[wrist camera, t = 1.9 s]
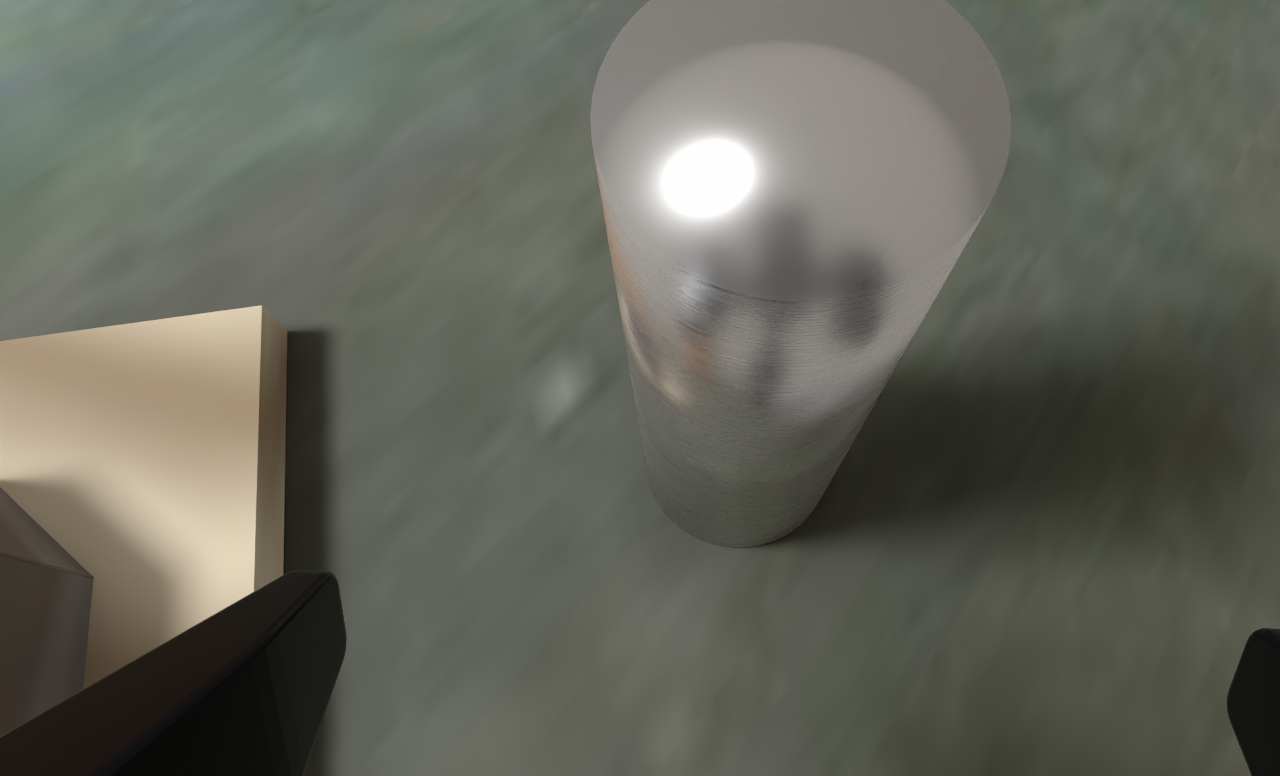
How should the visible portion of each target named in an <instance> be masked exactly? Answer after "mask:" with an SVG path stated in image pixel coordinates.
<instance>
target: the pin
mask: <svg viewBox="0 0 1280 776" xmlns="http://www.w3.org/2000/svg"><path fill="white" fill-rule="evenodd" d="M590 117H591V137H592V144H593V150H594V156H595V162H596V168H597V174H598V180H599V186H600V192H601V198H602V204H603V210H604V216H605V222H606V228H607V234H608V241H609V247H610V253H611V259H612V265H613V271H614V277H615V283H616V289H617V295H618V301H619V307H620V313H621V319H622V325H623V331H624V337H625V343H626V350H627V356H628V362H629V368H630V374H631V380H632V386H633V392H634V398H635V404H636V410H637V416H638V422H639V428H640V434H641V440H642V446H643V452H644V459H645V465H646V470H647V475H648V480H649V483H650V486H651V489H652V492H653V494H654V496H655V498H656V499H657V501H658V503H659V505H660V506H661V507H662V509H663V510H664V512H665V513H666V514H667V515H668V516H669V517H670V518H671V520H672V521H673V522H675V523H676V524H677V525H678V526H679V527H680V528H682V529H683V530H685V531H686V532H688V533H689V534H691V535H692V536H694V537H697V538H699V539H701V540H703V541H705V542H709V543H712V544H715V545H719V546H725V547H735V548H744V547H755V546H759V545H764V544H767V543H770V542H773V541H776V540H778V539H780V538H782V537H784V536H786V535H788V534H789V533H791V532H792V531H793V530H795V529H796V528H798V527H799V526H800V525H801V524H802V523H803V522H804V521H805V520H806V519H807V518H808V517H809V516H810V514H811V513H812V512H813V511H814V509H815V507H816V506H817V504H818V503H819V501H820V499H821V497H822V496H823V494H824V492H825V490H826V489H827V487H828V485H829V483H830V482H831V480H832V478H833V476H834V475H835V473H836V471H837V469H838V468H839V466H840V464H841V462H842V461H843V459H844V457H845V455H846V454H847V452H848V450H849V448H850V447H851V445H852V443H853V441H854V440H855V438H856V436H857V434H858V433H859V431H860V429H861V428H862V426H863V424H864V422H865V421H866V419H867V417H868V415H869V414H870V412H871V410H872V408H873V407H874V405H875V403H876V401H877V400H878V398H879V396H880V394H881V393H882V391H883V389H884V387H885V386H886V384H887V382H888V380H889V379H890V377H891V375H892V373H893V372H894V370H895V368H896V366H897V365H898V363H899V361H900V359H901V358H902V356H903V354H904V352H905V351H906V349H907V347H908V345H909V344H910V342H911V340H912V338H913V337H914V335H915V333H916V331H917V330H918V328H919V326H920V324H921V323H922V321H923V319H924V317H925V316H926V314H927V312H928V310H929V309H930V307H931V305H932V303H933V302H934V300H935V298H936V296H937V295H938V293H939V291H940V289H941V288H942V286H943V284H944V282H945V281H946V279H947V277H948V275H949V274H950V272H951V270H952V268H953V267H954V265H955V263H956V261H957V260H958V258H959V256H960V254H961V253H962V251H963V249H964V247H965V246H966V244H967V242H968V240H969V239H970V237H971V235H972V233H973V232H974V230H975V228H976V226H977V225H978V223H979V221H980V219H981V218H982V216H983V214H984V212H985V211H986V209H987V207H988V205H989V204H990V202H991V200H992V198H993V197H994V195H995V193H996V190H997V188H998V186H999V183H1000V181H1001V179H1002V176H1003V174H1004V171H1005V167H1006V162H1007V158H1008V154H1009V150H1010V138H1011V117H1010V106H1009V100H1008V96H1007V92H1006V88H1005V84H1004V81H1003V78H1002V76H1001V74H1000V71H999V69H998V67H997V64H996V62H995V60H994V58H993V56H992V55H991V53H990V51H989V50H988V48H987V46H986V45H985V43H984V41H983V40H982V38H981V37H980V36H979V35H978V34H977V32H976V31H975V30H974V29H973V27H972V26H971V25H970V24H969V22H968V21H967V20H966V19H965V18H964V17H963V16H962V15H961V14H959V13H958V12H957V11H956V10H955V9H954V8H953V7H952V6H951V5H950V4H949V3H947V2H946V1H945V0H650V1H649V2H648V3H647V4H645V5H644V6H643V7H642V8H641V9H640V10H639V11H638V12H637V13H636V14H635V15H634V16H633V17H632V18H631V19H630V20H629V22H628V23H627V24H626V25H625V26H624V28H623V29H622V30H621V31H620V32H619V34H618V36H617V37H616V39H615V40H614V42H613V44H612V45H611V47H610V48H609V50H608V52H607V54H606V56H605V58H604V61H603V63H602V65H601V68H600V70H599V72H598V76H597V80H596V83H595V87H594V91H593V96H592V106H591V115H590Z"/></svg>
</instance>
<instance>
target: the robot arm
mask: <svg viewBox="0 0 1280 776" xmlns="http://www.w3.org/2000/svg"><path fill="white" fill-rule="evenodd" d="M345 651H346V629H345V623H344V617H343V610H342V604H341V598H340V591H339V585H338V582H337V579H336V577H335V575H333V574H332V573H331V572H329V571H320V570H304V569H296V570H292V571H290V572H288V573H286V574H284V575H282V576H281V577H279V578H277V579H275V580H273V581H272V582H270V583H268V584H266V585H265V586H263V587H261V588H259V589H258V590H256V591H254V592H252V593H251V594H249V595H247V596H245V597H244V598H242V599H240V600H238V601H237V602H235V603H233V604H231V605H230V606H228V607H226V608H224V609H223V610H221V611H219V612H217V613H216V614H214V615H212V616H210V617H209V618H207V619H205V620H203V621H202V622H200V623H198V624H196V625H195V626H193V627H191V628H189V629H188V630H186V631H184V632H182V633H181V634H179V635H177V636H175V637H174V638H172V639H170V640H168V641H167V642H165V643H163V644H161V645H160V646H158V647H156V648H154V649H153V650H151V651H149V652H147V653H146V654H144V655H142V656H140V657H139V658H137V659H135V660H133V661H132V662H130V663H128V664H126V665H125V666H123V667H121V668H119V669H118V670H116V671H114V672H112V673H111V674H109V675H107V676H105V677H104V678H102V679H100V680H98V681H97V682H95V683H93V684H91V685H90V686H88V687H86V688H84V689H83V690H81V691H79V692H77V693H76V694H74V695H72V696H70V697H69V698H67V699H65V700H63V701H62V702H60V703H58V704H56V705H55V706H53V707H51V708H49V709H47V710H46V711H44V712H42V713H40V714H39V715H37V716H35V717H33V718H32V719H30V720H28V721H26V722H25V723H23V724H21V725H19V726H18V727H16V728H14V729H12V730H11V731H9V732H7V733H5V734H4V735H2V736H0V776H303V775H304V772H305V769H306V766H307V763H308V760H309V758H310V755H311V752H312V749H313V746H314V743H315V740H316V737H317V734H318V732H319V729H320V726H321V723H322V720H323V717H324V714H325V711H326V709H327V706H328V703H329V700H330V697H331V694H332V691H333V688H334V685H335V683H336V680H337V677H338V674H339V671H340V668H341V665H342V662H343V659H344V655H345ZM1227 710H1228V715H1229V719H1230V722H1231V725H1232V727H1233V730H1234V732H1235V735H1236V737H1237V740H1238V742H1239V745H1240V747H1241V750H1242V752H1243V755H1244V757H1245V760H1246V762H1247V765H1248V768H1249V770H1250V773H1251V775H1252V776H1280V629H1269V628H1263V629H1259V630H1256V631H1255V632H1253V633H1252V634H1251V635H1250V636H1249V638H1248V640H1247V643H1246V645H1245V648H1244V651H1243V653H1242V656H1241V659H1240V662H1239V664H1238V667H1237V670H1236V672H1235V675H1234V678H1233V681H1232V683H1231V686H1230V689H1229V692H1228V697H1227Z"/></svg>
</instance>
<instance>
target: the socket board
mask: <svg viewBox="0 0 1280 776" xmlns="http://www.w3.org/2000/svg"><path fill="white" fill-rule="evenodd" d="M286 383H287V330H286V329H285V328H284V327H283V326H282V325H281V324H280V323H279V322H278V321H277V320H276V319H275V318H274V317H273V316H272V315H271V314H270V313H269V312H268V311H267V310H266V309H265V308H264V307H263V306H262V305H261V306H254V307H247V308H239V309H232V310H225V311H218V312H210V313H203V314H196V315H188V316H181V317H174V318H166V319H159V320H152V321H144V322H137V323H130V324H123V325H115V326H108V327H101V328H93V329H86V330H79V331H71V332H64V333H57V334H50V335H42V336H35V337H28V338H20V339H13V340H6V341H0V736H2V735H4V734H5V733H7V732H9V731H11V730H12V729H14V728H16V727H18V726H19V725H21V724H23V723H25V722H26V721H28V720H30V719H32V718H33V717H35V716H37V715H39V714H40V713H42V712H44V711H46V710H47V709H49V708H51V707H53V706H55V705H56V704H58V703H60V702H62V701H63V700H65V699H67V698H69V697H70V696H72V695H74V694H76V693H77V692H79V691H81V690H83V689H84V688H86V687H88V686H90V685H91V684H93V683H95V682H97V681H98V680H100V679H102V678H104V677H105V676H107V675H109V674H111V673H112V672H114V671H116V670H118V669H119V668H121V667H123V666H125V665H126V664H128V663H130V662H132V661H133V660H135V659H137V658H139V657H140V656H142V655H144V654H146V653H147V652H149V651H151V650H153V649H154V648H156V647H158V646H160V645H161V644H163V643H165V642H167V641H168V640H170V639H172V638H174V637H175V636H177V635H179V634H181V633H182V632H184V631H186V630H188V629H189V628H191V627H193V626H195V625H196V624H198V623H200V622H202V621H203V620H205V619H207V618H209V617H210V616H212V615H214V614H216V613H217V612H219V611H221V610H223V609H224V608H226V607H228V606H230V605H231V604H233V603H235V602H237V601H238V600H240V599H242V598H244V597H245V596H247V595H249V594H251V593H252V592H254V591H256V590H258V589H259V588H261V587H263V586H265V585H266V584H268V583H270V582H272V581H273V580H275V579H277V578H279V577H281V576H282V575H283V564H284V504H285V443H286Z"/></svg>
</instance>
